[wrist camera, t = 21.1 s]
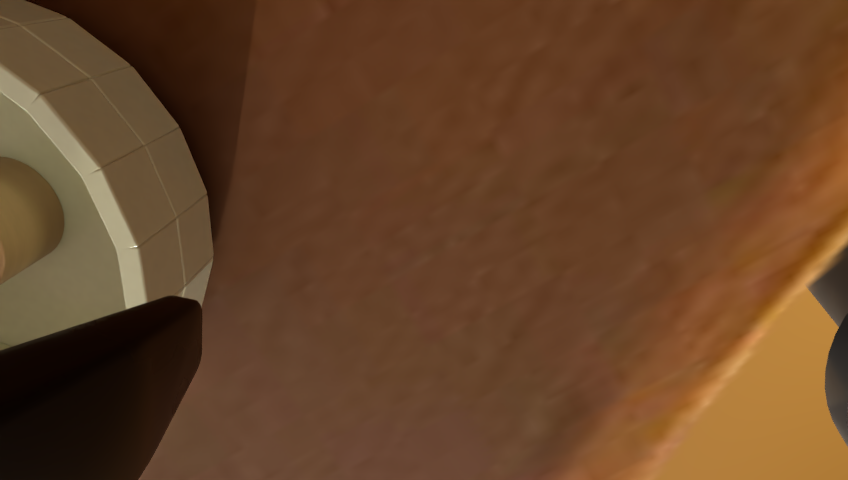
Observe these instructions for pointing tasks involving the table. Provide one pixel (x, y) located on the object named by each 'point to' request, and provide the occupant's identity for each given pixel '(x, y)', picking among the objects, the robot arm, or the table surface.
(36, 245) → the cylinder
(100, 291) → the bowl
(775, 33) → the table surface
